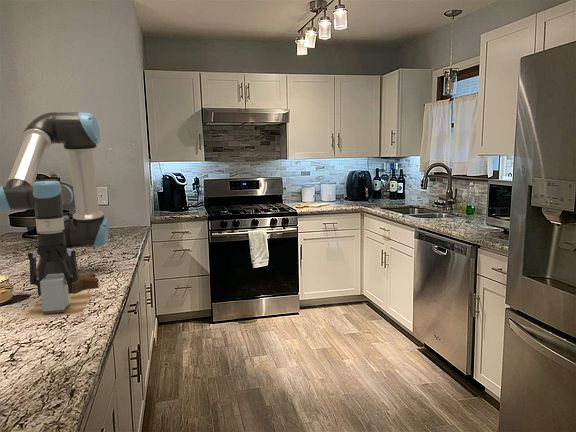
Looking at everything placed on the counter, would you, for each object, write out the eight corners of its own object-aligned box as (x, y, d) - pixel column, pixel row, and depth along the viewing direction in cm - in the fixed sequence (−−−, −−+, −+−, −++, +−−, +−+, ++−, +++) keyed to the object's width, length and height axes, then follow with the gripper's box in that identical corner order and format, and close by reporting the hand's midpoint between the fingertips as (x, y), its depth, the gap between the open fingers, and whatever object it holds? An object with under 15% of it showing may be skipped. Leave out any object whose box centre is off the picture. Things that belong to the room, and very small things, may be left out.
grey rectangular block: (50, 304, 146) (47, 274, 145) (70, 302, 147) (68, 272, 146) (42, 313, 137) (39, 281, 136) (64, 312, 139) (61, 280, 138)
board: (43, 297, 156) (43, 296, 156) (93, 293, 160) (93, 292, 160) (23, 320, 135) (22, 318, 135) (81, 315, 139) (81, 313, 139)
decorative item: (65, 286, 155) (45, 273, 165) (65, 302, 157) (46, 289, 166) (108, 277, 167) (88, 265, 176) (108, 292, 169) (88, 280, 178)
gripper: (12, 235, 133) (19, 311, 137) (82, 231, 138) (87, 305, 141) (20, 231, 141) (27, 303, 144) (86, 228, 145) (91, 298, 148)
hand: (57, 304), depth 143 cm, fingers closed on grey rectangular block, 6 cm apart
